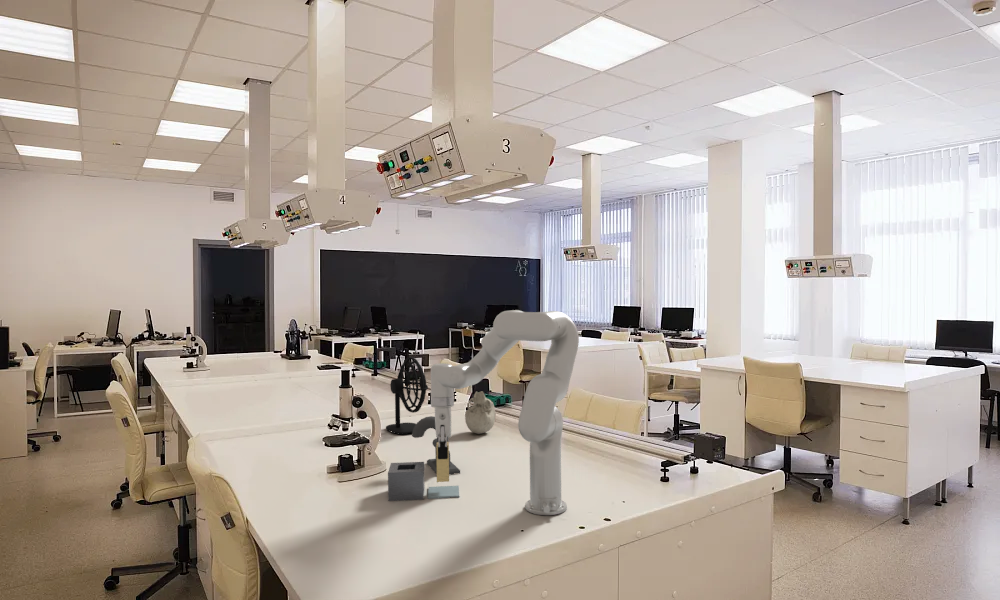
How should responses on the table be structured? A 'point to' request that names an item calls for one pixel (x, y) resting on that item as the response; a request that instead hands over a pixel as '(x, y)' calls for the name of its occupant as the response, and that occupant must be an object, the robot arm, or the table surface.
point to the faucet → (419, 432)
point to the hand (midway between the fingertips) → (442, 456)
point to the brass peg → (442, 467)
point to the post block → (406, 481)
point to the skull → (480, 414)
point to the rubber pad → (443, 492)
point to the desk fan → (399, 393)
